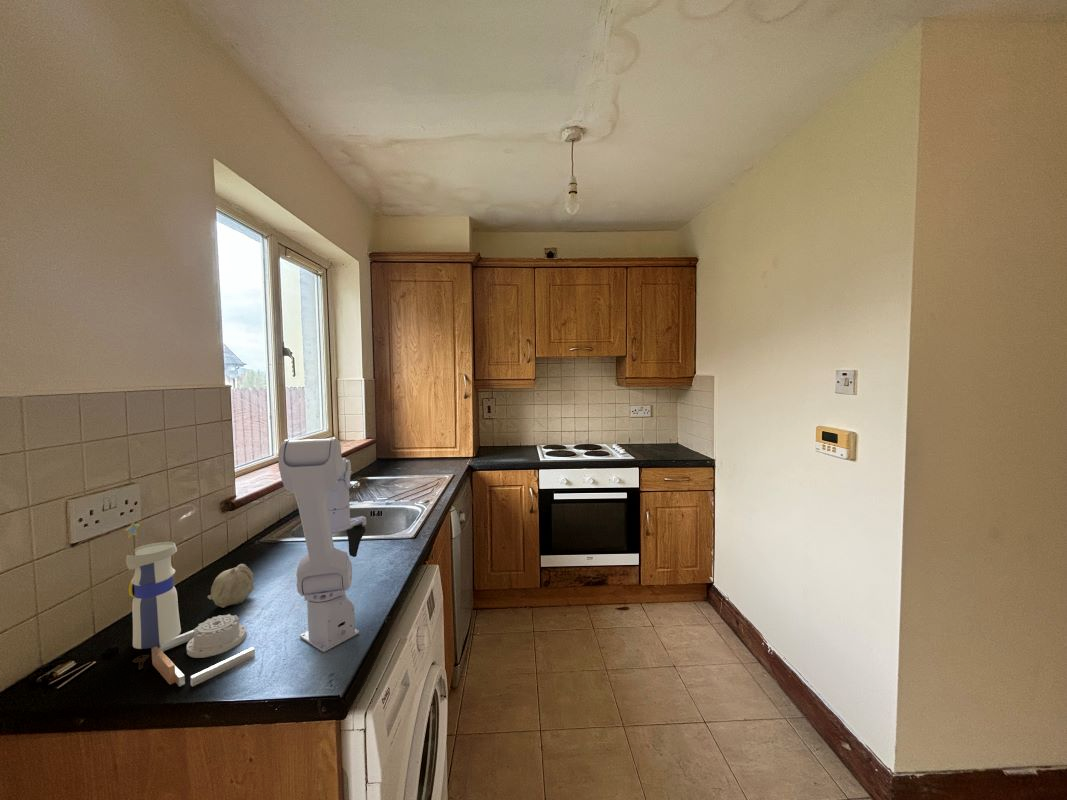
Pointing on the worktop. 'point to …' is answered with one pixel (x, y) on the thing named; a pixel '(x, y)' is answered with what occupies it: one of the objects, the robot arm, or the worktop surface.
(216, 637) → the mechanical component
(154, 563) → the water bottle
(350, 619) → the robot arm
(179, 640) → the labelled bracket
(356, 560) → the worktop surface
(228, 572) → the garlic bulb
